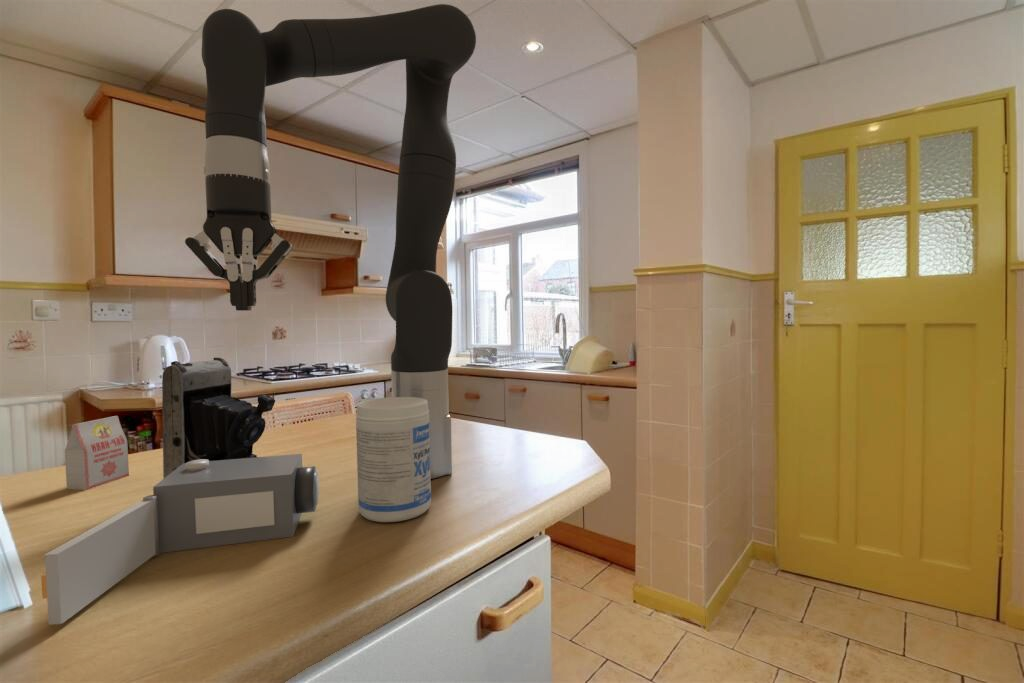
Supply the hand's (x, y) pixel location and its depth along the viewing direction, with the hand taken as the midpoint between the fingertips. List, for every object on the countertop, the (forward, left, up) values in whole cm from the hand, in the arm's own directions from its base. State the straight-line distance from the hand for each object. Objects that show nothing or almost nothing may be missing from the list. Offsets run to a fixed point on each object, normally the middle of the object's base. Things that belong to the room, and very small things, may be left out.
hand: (243, 310), depth 65 cm
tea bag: (+26, -19, -27) cm, 42 cm away
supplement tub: (-19, +7, -27) cm, 34 cm away
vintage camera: (+4, -8, -27) cm, 29 cm away
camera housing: (-1, +7, -27) cm, 28 cm away
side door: (+9, +18, -27) cm, 33 cm away
